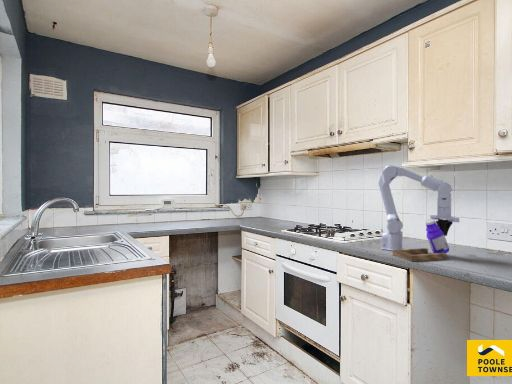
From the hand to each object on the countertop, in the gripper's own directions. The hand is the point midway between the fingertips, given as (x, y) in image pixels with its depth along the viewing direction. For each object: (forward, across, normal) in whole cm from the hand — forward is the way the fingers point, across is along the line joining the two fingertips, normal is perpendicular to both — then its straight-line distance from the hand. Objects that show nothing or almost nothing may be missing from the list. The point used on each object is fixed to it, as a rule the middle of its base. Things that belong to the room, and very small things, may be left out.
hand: (443, 235), depth 145 cm
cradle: (+9, 0, +14) cm, 17 cm away
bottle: (+8, 0, +1) cm, 8 cm away
